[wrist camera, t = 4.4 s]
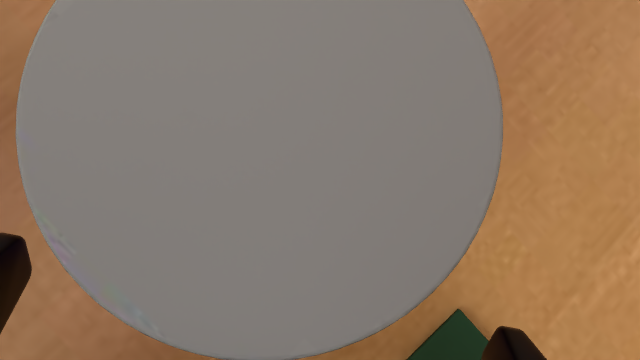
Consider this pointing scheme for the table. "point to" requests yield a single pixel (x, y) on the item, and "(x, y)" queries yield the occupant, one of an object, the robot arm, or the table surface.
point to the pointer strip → (453, 341)
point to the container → (259, 162)
